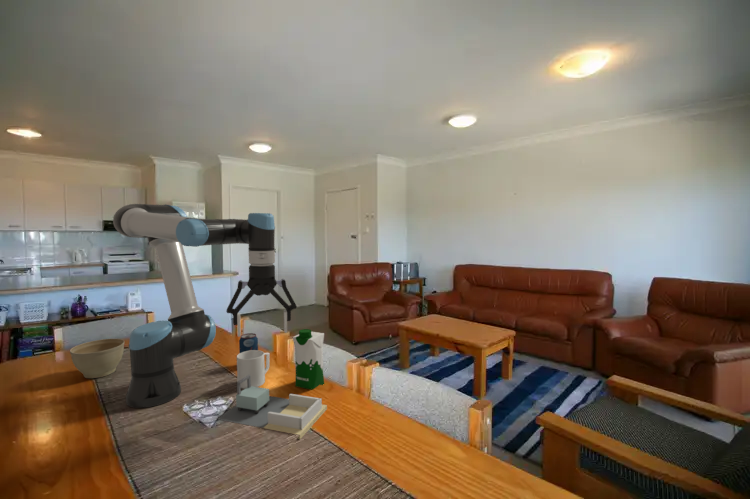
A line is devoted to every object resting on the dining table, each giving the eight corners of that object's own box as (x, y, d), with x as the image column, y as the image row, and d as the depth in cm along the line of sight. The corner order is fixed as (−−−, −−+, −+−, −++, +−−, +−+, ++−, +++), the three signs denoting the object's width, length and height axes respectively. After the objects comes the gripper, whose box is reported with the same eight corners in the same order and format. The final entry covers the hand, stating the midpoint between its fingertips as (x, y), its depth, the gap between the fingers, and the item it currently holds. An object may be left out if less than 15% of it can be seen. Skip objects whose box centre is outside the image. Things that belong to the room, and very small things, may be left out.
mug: (248, 394, 118) (247, 361, 117) (232, 388, 123) (231, 356, 122) (277, 381, 128) (276, 350, 127) (261, 375, 133) (260, 345, 132)
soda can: (255, 368, 139) (254, 338, 138) (237, 368, 139) (236, 338, 138) (261, 361, 146) (260, 332, 145) (244, 361, 146) (242, 332, 145)
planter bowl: (61, 379, 131) (59, 349, 131) (108, 363, 146) (107, 336, 146) (89, 386, 125) (87, 355, 125) (135, 368, 140) (134, 341, 140)
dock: (217, 423, 101) (216, 408, 101) (253, 397, 116) (252, 384, 116) (300, 439, 93) (299, 423, 93) (327, 409, 108) (326, 395, 108)
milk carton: (291, 389, 121) (289, 331, 120) (307, 379, 129) (306, 324, 128) (313, 394, 117) (311, 334, 116) (328, 383, 126) (327, 326, 124)
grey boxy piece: (236, 411, 105) (235, 382, 104) (249, 401, 111) (248, 374, 110) (257, 415, 103) (256, 385, 102) (269, 405, 108) (268, 377, 108)
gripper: (215, 267, 102) (217, 340, 103) (305, 264, 110) (305, 333, 111) (218, 263, 109) (219, 333, 111) (302, 261, 117) (302, 326, 118)
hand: (262, 333), depth 111 cm, fingers open, 13 cm apart
